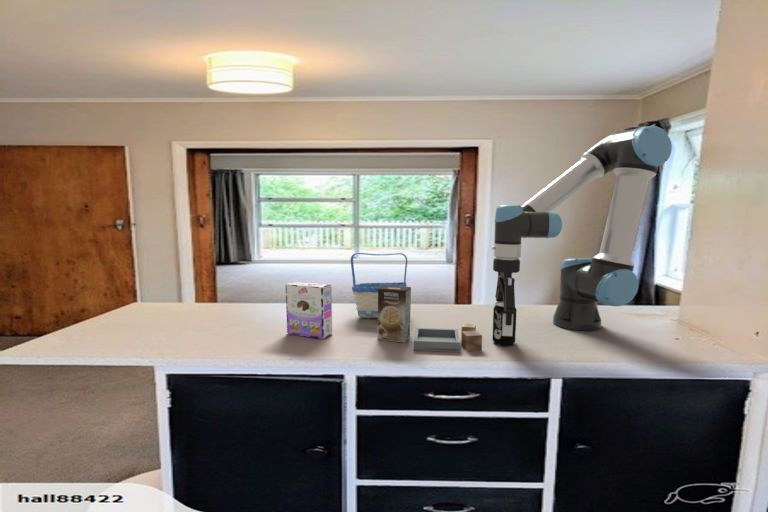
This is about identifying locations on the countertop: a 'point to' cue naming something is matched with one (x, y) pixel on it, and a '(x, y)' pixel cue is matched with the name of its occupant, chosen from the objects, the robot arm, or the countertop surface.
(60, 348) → the countertop surface
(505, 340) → the beverage can
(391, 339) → the coffee box
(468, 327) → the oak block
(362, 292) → the basket
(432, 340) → the tray
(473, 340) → the walnut block
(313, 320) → the candy box
